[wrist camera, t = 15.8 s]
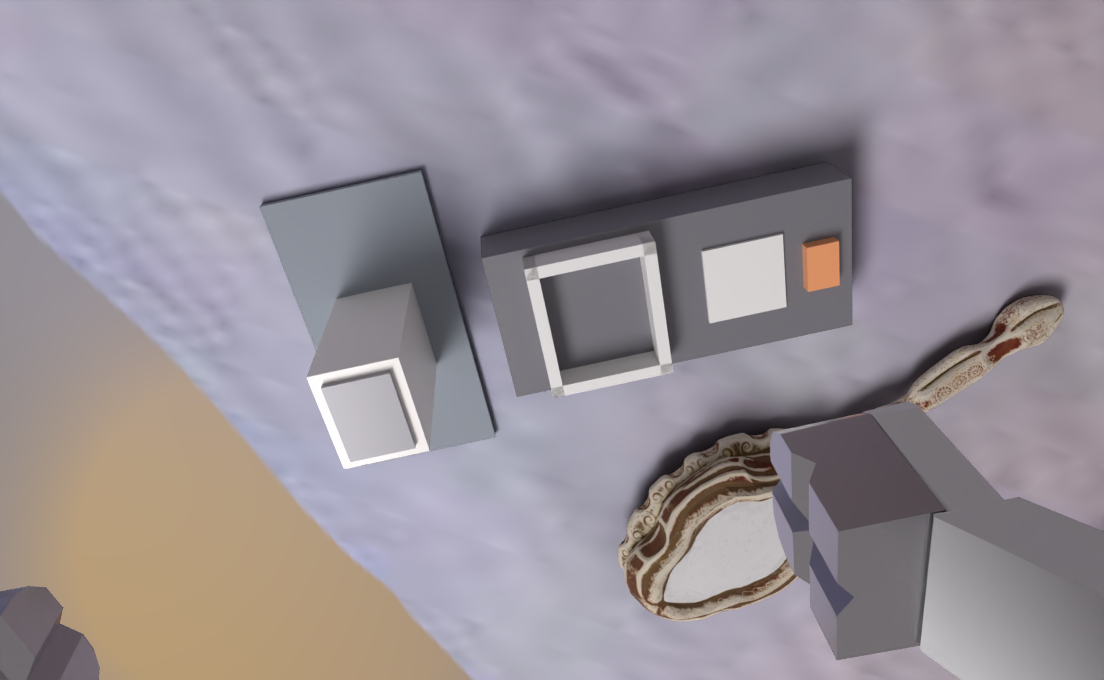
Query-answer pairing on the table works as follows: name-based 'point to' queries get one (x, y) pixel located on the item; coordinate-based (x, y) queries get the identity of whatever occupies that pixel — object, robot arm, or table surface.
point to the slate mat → (384, 280)
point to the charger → (375, 377)
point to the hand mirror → (769, 494)
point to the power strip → (672, 279)
